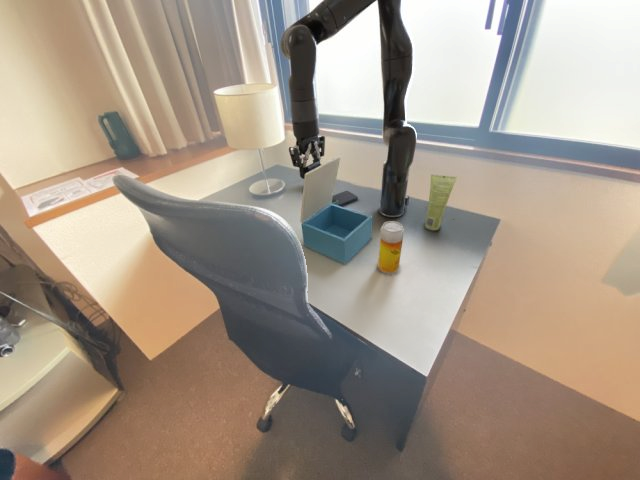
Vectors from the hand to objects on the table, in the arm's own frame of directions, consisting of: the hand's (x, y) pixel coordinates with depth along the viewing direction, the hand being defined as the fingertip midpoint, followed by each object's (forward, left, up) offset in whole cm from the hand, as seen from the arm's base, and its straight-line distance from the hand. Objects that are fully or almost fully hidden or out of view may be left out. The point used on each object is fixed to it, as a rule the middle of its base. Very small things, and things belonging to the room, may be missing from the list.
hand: (310, 174), depth 85 cm
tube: (-26, +33, -23) cm, 48 cm away
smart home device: (-21, -7, -23) cm, 32 cm away
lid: (0, +4, -5) cm, 6 cm away
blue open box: (0, +10, -23) cm, 25 cm away
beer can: (+2, +30, -23) cm, 37 cm away
